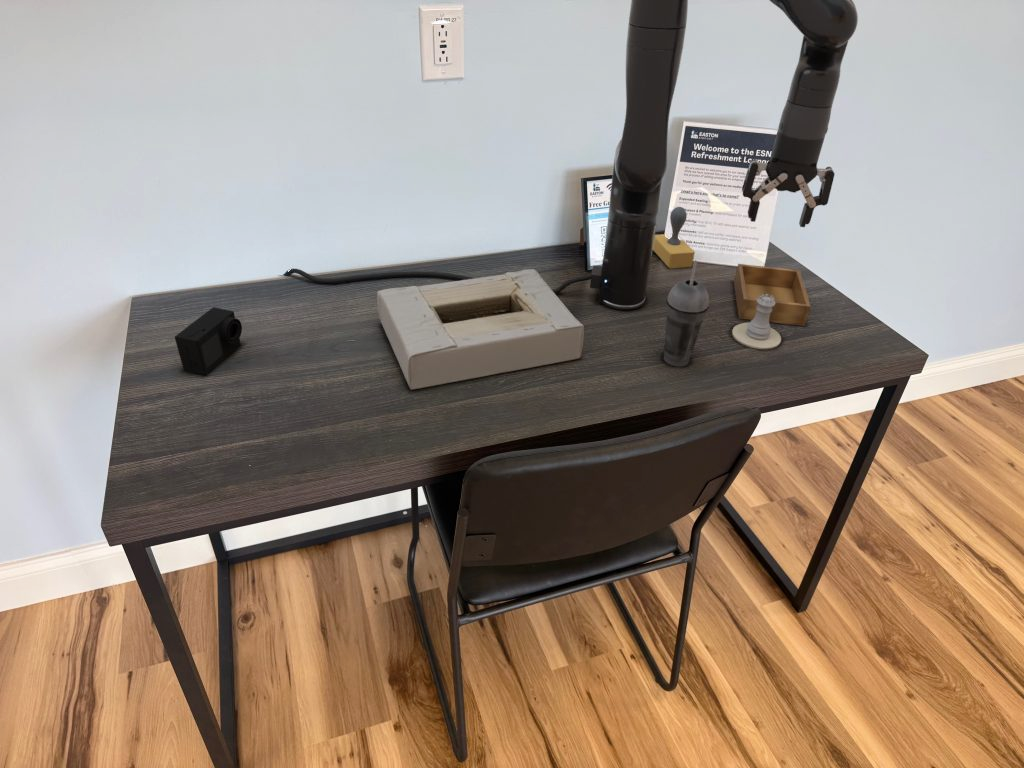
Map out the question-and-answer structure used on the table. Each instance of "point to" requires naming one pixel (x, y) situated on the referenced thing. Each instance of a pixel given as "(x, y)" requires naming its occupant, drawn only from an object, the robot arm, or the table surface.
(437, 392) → the table surface
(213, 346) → the digital camera
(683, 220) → the rubber stamp
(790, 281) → the wooden tray
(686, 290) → the beverage cup
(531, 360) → the box
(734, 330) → the coaster
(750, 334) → the rook chess piece
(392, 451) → the table surface
